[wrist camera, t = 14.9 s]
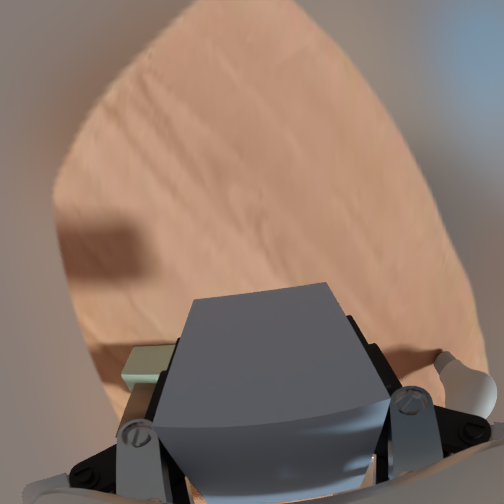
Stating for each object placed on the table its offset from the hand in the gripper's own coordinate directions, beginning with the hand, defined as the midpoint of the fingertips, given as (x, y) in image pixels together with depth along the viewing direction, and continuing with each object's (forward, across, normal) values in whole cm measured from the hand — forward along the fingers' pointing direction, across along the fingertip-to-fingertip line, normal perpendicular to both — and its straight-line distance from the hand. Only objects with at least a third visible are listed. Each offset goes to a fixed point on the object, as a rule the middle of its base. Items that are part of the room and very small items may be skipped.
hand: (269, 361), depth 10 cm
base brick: (+12, +9, +11) cm, 19 cm away
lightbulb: (+13, -20, +16) cm, 28 cm away
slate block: (+1, 0, 0) cm, 1 cm away
